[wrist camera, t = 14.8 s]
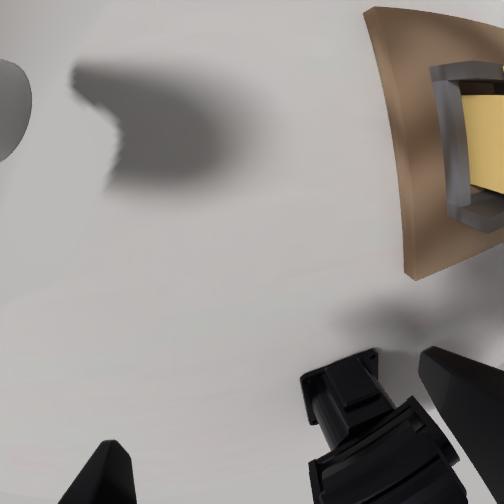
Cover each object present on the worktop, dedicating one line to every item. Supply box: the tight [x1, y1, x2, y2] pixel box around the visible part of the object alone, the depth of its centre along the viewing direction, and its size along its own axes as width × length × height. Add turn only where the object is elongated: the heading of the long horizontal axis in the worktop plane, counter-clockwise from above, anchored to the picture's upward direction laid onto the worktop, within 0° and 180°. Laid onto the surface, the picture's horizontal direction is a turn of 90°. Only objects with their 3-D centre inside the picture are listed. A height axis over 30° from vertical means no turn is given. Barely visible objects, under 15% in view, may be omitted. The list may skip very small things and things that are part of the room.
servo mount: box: [363, 6, 504, 281], centre depth 16 cm, size 18×14×6 cm
